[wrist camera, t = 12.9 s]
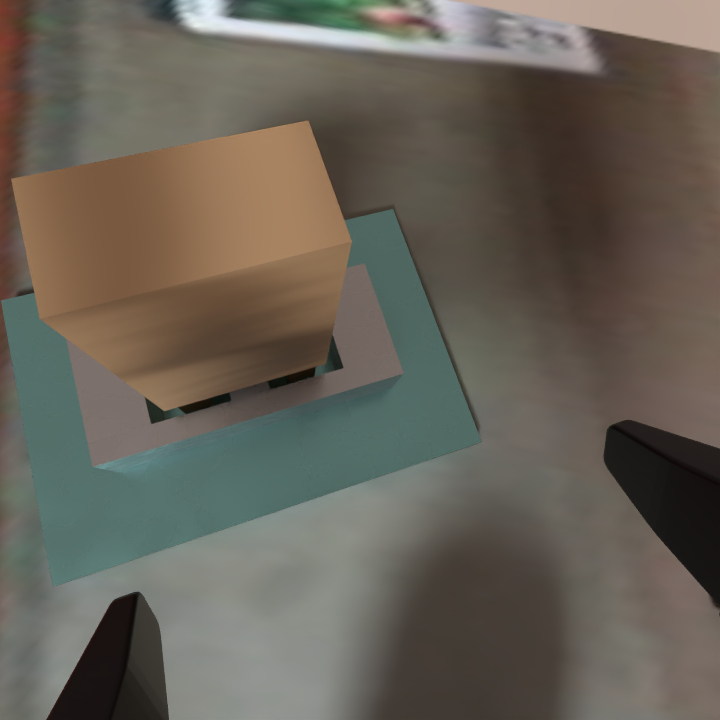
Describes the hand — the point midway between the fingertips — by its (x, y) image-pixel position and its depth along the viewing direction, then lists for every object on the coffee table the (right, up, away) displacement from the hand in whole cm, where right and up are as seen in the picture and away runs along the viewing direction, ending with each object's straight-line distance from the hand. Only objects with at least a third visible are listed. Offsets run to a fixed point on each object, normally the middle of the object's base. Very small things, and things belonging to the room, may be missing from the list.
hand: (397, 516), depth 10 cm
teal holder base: (-6, +2, +14) cm, 15 cm away
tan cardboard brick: (-6, +2, +13) cm, 15 cm away
